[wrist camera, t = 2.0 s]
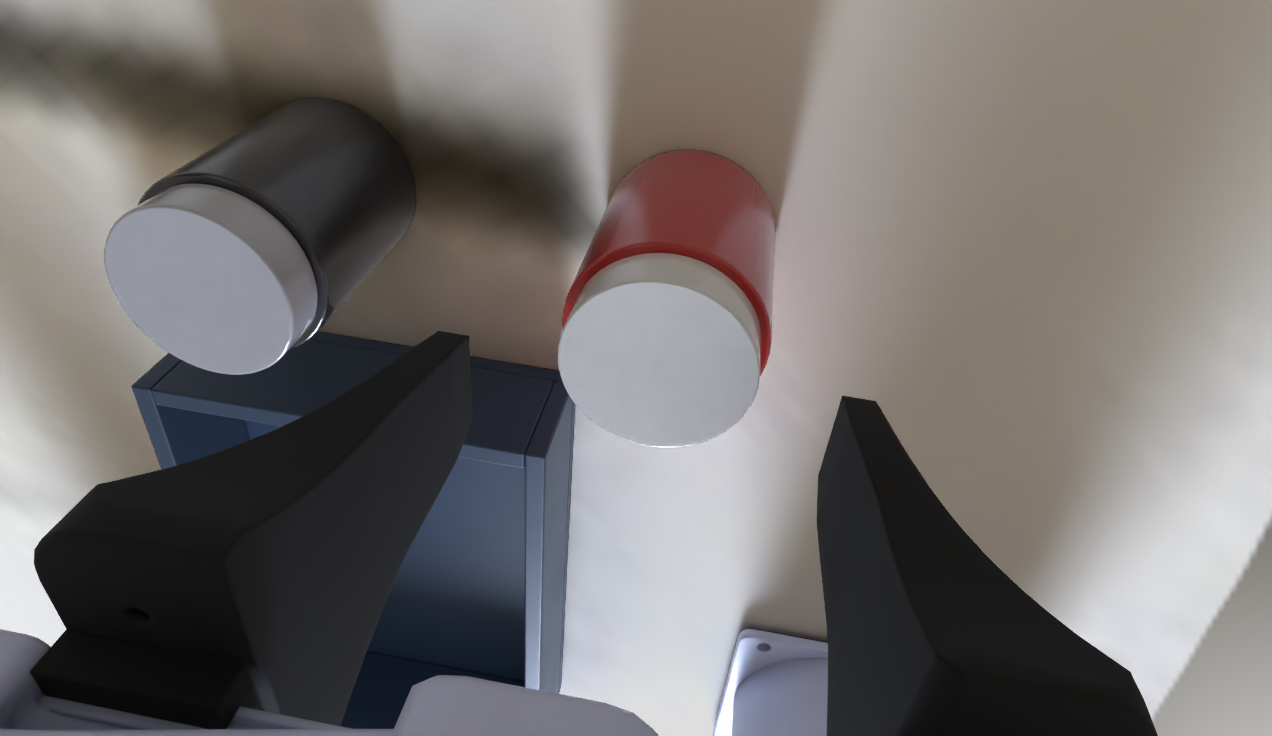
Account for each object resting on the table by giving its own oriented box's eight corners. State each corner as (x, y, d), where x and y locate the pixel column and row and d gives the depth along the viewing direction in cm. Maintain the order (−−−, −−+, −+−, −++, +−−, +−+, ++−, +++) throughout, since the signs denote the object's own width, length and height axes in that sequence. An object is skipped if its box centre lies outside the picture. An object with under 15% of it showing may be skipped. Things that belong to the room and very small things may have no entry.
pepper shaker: (410, 109, 21) (280, 213, 16) (422, 263, 24) (316, 397, 18) (244, 86, 21) (62, 180, 16) (275, 241, 24) (129, 365, 19)
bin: (577, 373, 25) (545, 457, 22) (561, 685, 35) (538, 774, 32) (211, 313, 26) (129, 385, 23) (298, 634, 36) (250, 715, 33)
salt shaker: (790, 162, 20) (790, 291, 15) (759, 315, 23) (749, 471, 18) (611, 137, 20) (549, 254, 15) (601, 291, 23) (546, 436, 18)
